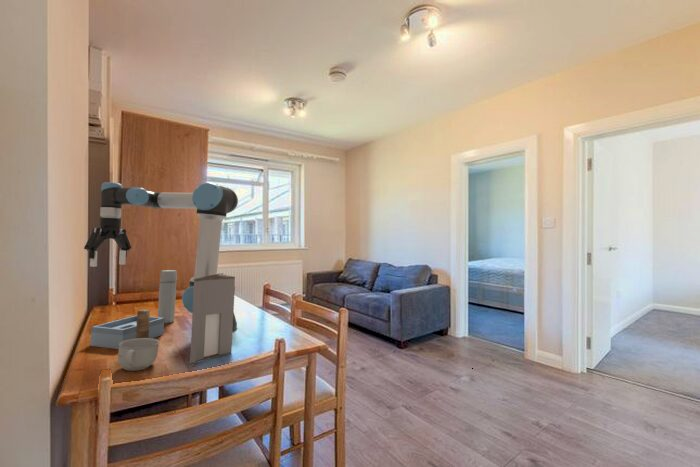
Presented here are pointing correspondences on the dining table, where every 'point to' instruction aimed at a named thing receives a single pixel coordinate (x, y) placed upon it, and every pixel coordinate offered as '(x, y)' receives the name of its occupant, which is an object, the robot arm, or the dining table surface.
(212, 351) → the cabinet
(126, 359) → the teacup
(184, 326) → the dining table surface
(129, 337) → the box
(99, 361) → the dining table surface
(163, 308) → the water bottle
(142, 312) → the peg
